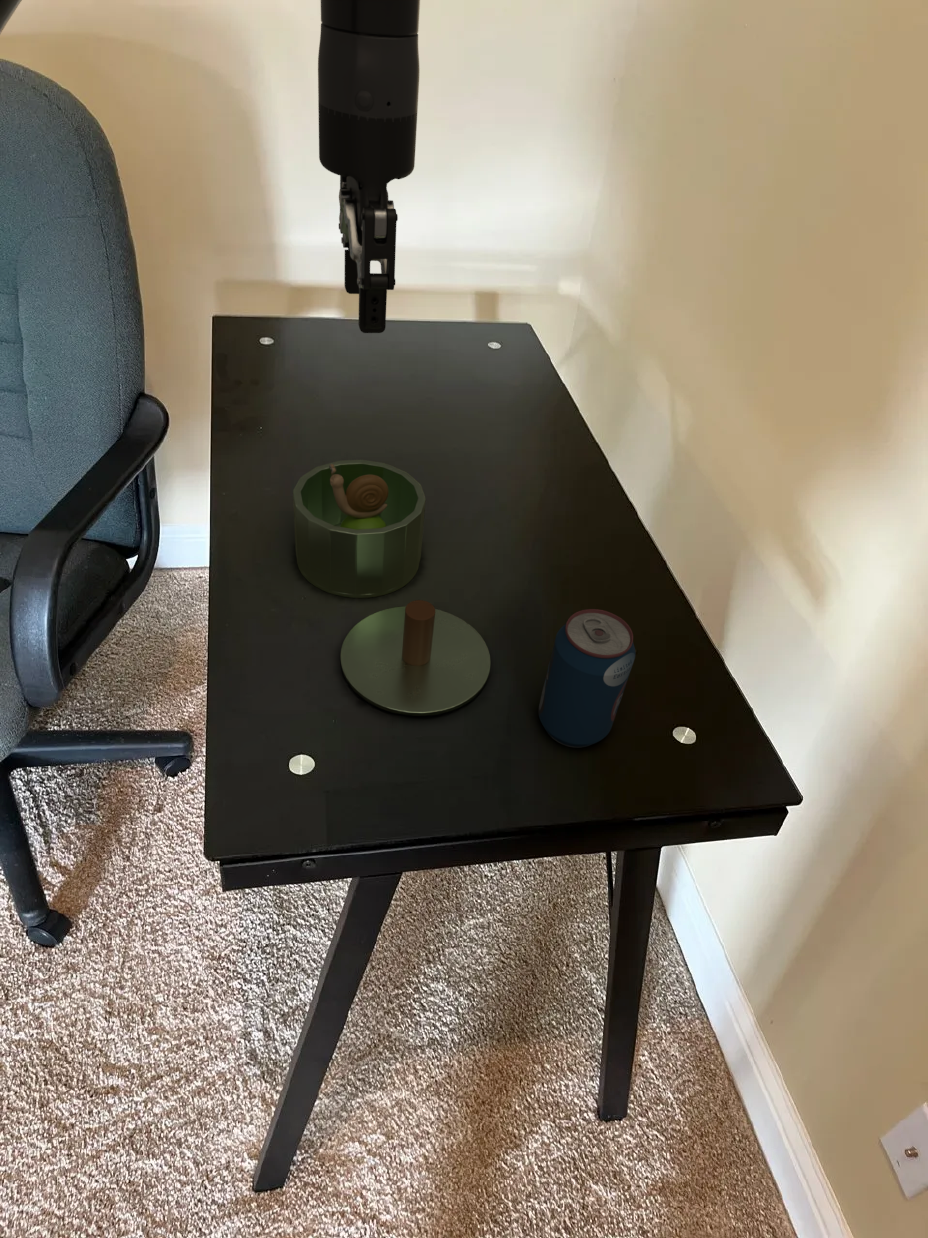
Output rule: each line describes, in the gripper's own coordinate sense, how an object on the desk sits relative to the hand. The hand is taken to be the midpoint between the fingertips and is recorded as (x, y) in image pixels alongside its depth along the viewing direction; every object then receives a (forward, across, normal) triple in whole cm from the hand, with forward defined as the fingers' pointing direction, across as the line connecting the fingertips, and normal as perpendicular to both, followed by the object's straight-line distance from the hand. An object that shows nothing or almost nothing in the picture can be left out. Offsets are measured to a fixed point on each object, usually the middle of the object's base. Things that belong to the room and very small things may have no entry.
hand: (364, 310), depth 73 cm
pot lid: (+28, -17, -3) cm, 32 cm away
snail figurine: (+28, 0, 0) cm, 28 cm away
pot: (+28, 0, 0) cm, 28 cm away
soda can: (+28, -27, -16) cm, 42 cm away
